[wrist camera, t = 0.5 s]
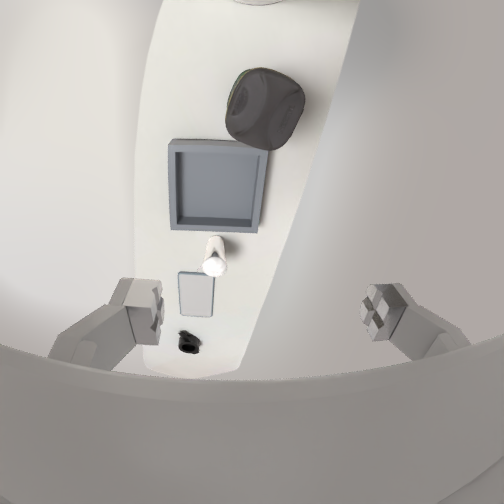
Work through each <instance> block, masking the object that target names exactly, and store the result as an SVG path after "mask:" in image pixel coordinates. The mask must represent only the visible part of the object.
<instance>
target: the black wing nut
mask: <svg viewBox="0 0 504 504" xmlns="http://www.w3.org/2000/svg"><path fill="white" fill-rule="evenodd" d="M179 335H180V336H181V337H180V338H179V349H180V350H181V351H183V352H185V353H192V354H197V353H199V351H198V350H199V339H198V338H197V337H195V336H193V335H186V334H185V333H179Z"/></svg>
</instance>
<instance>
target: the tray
mask: <svg viewBox="0 0 504 504" xmlns="http://www.w3.org/2000/svg"><path fill="white" fill-rule="evenodd" d="M267 158H268V151H266V150H261V149H258V148H254V147H252V146H249V145H246V144H244V143H242V142H240V141H228V140H205V139H172V140H171V142H170V143H169V144H168V183H169V209H170V227H171V230H189V231H216V232H240V233H257V232H258V225H259V217H260V210H261V203H262V195H263V188H264V180H265V173H266V165H267Z"/></svg>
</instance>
